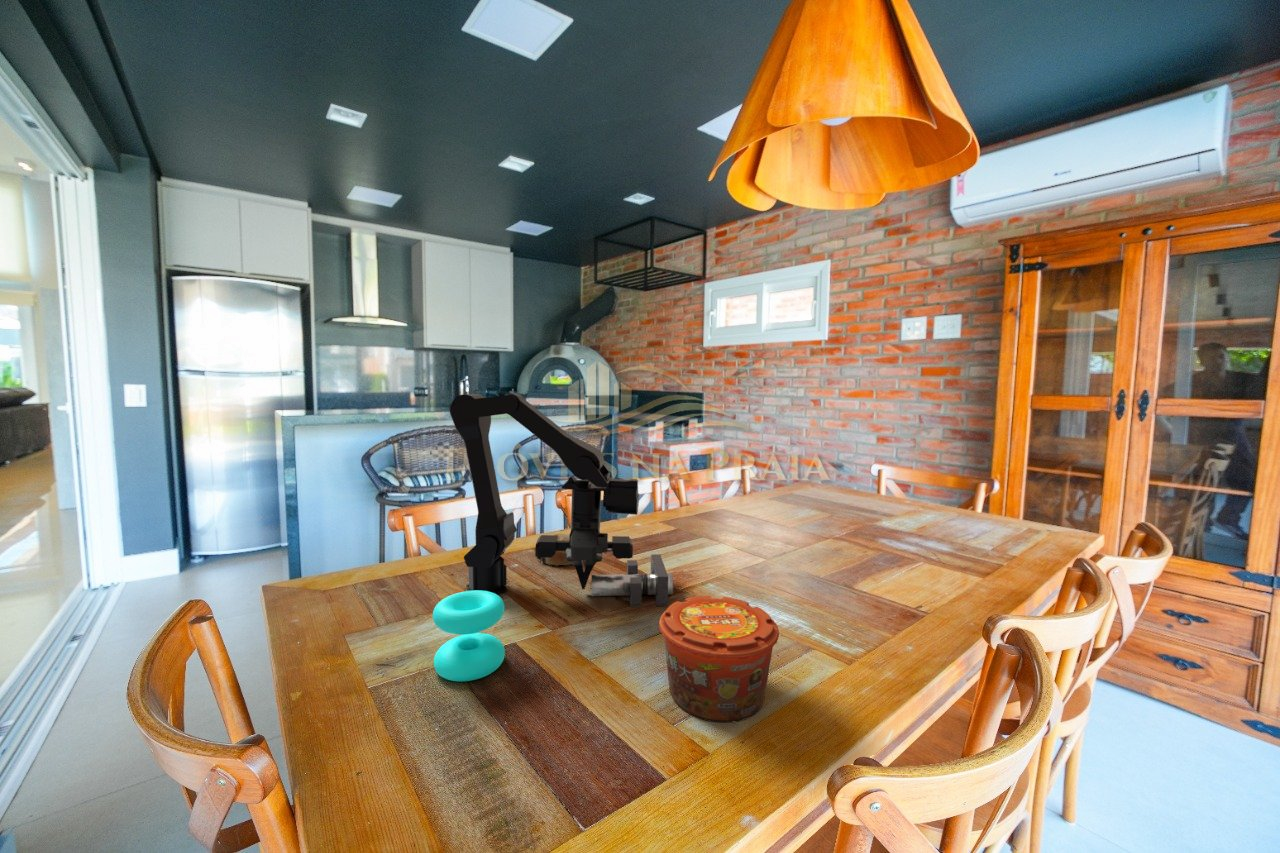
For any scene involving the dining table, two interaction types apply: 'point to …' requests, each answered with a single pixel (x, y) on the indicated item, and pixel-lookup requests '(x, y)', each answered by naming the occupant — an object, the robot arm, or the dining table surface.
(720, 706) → the food container
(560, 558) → the bread roll
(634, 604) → the cradle collar
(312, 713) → the dining table surface
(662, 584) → the gray bridge arch
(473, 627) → the donuts
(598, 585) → the tube
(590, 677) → the dining table surface
